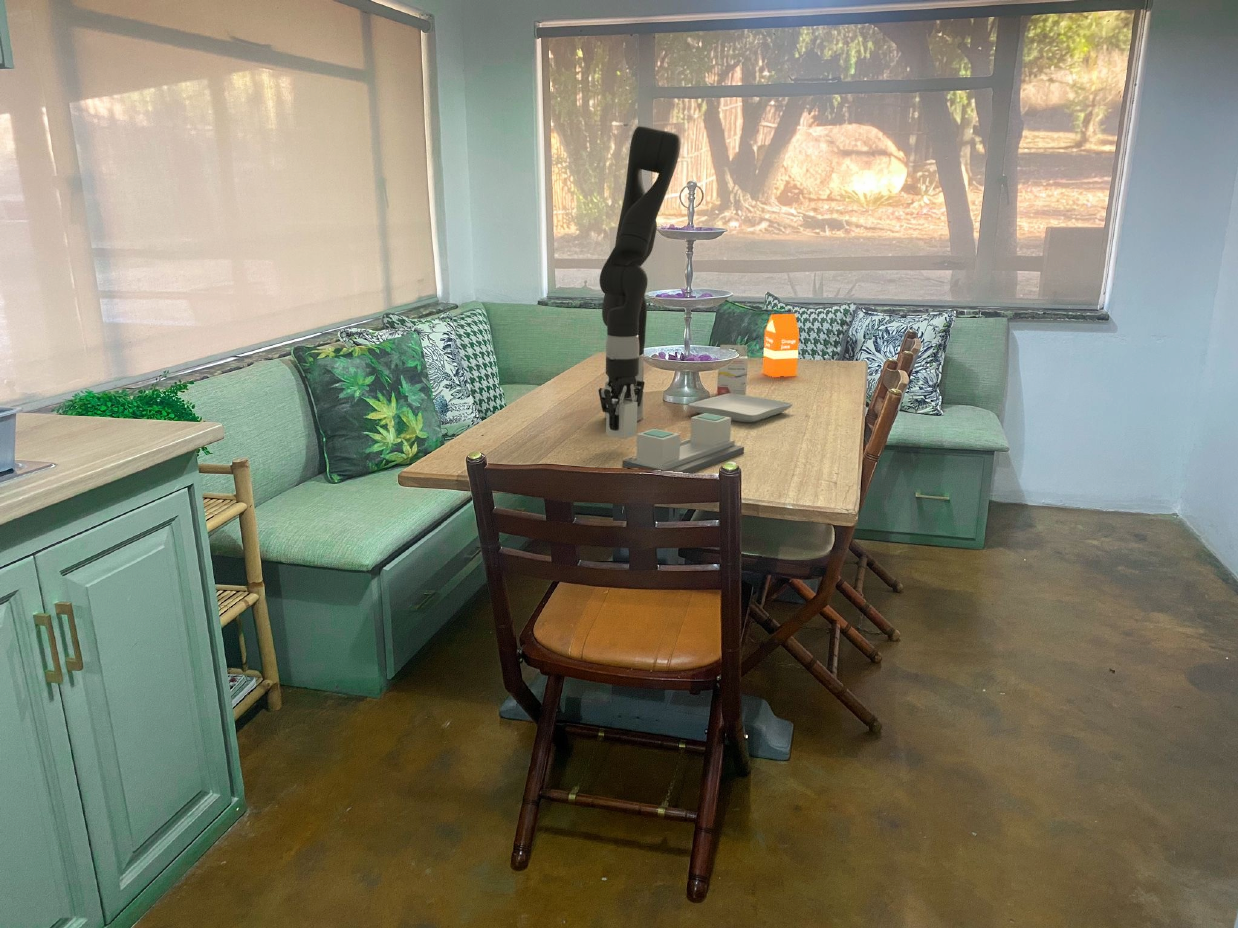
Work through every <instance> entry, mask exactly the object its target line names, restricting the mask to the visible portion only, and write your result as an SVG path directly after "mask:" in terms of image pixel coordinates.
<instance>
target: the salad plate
mask: <svg viewBox="0 0 1238 928" xmlns="http://www.w3.org/2000/svg"><path fill="white" fill-rule="evenodd" d="M688 406H689V408H690V409H691V410H693V411H694V412H696V413H698V414H705V413H708V414H714V415H719V416H725V417H730V418H731V421H733V422H740V423H741V422H742V423H755V422H758V421H762V420H764V419H767V418H770V416H771V417H773V415H774V416H776V415H779V414H781V413H785V412H786V411H787V410H789V409H791V408H792V406H793V403H792V402H788V401H782V400H776V399H771V398H766V397H760V396H759V397H758V396H752V395H747V394H746V395H739V394H731V393H728V394H724V395H720V396H717V395H716V396H713V397H708V398H706V399H702V400H701V399H700V400H698V401H695V402H691V403H689V404H688ZM761 419H762V420H761Z"/></svg>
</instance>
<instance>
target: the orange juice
mask: <svg viewBox="0 0 1238 928" xmlns="http://www.w3.org/2000/svg"><path fill="white" fill-rule="evenodd" d="M797 321H798V320H797V318H796V314H795V313H782V314H781V313H780V314H771V315H770V317H769V320H768V322H767V325H766V328H765V329H764V341H763V342H764V344H763V362H762V363H763V364H762V374H765V376H766V375H767V376H769V377H771V376H772V378H781V377H780V376H784V377H796V376H797V373H798V372H797V371H798V358H799V343H800V341H799V339H800V331H799V327H798V322H797Z"/></svg>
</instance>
